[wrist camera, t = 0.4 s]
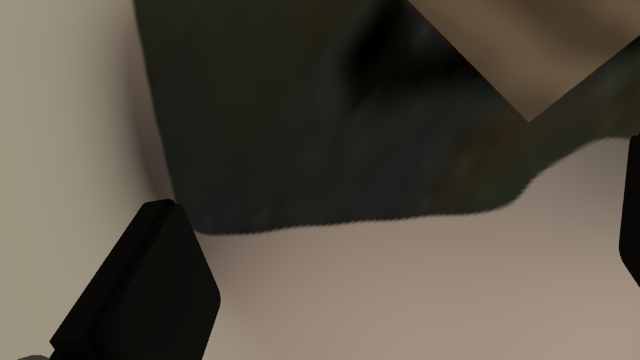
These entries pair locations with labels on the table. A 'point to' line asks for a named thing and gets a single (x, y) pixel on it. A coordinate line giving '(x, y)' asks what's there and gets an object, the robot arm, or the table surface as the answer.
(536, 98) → the board
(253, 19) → the table surface
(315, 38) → the table surface
